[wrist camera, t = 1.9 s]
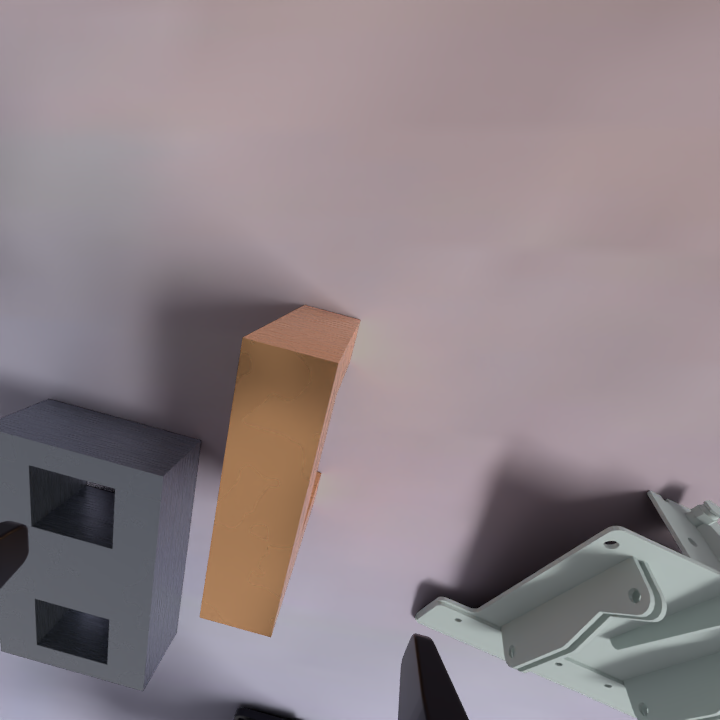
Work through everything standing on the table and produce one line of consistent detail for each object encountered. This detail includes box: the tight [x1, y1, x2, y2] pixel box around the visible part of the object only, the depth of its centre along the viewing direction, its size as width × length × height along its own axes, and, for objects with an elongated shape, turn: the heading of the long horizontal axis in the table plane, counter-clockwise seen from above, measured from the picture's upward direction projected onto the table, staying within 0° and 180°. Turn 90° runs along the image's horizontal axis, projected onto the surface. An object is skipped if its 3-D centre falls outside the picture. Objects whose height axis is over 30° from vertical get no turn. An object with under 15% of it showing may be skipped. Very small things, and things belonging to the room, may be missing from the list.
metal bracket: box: [415, 490, 720, 720], centre depth 17 cm, size 14×6×15 cm
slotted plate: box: [0, 399, 201, 691], centre depth 18 cm, size 14×8×3 cm, turn 166°
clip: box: [200, 305, 360, 637], centre depth 13 cm, size 10×2×6 cm, turn 166°
